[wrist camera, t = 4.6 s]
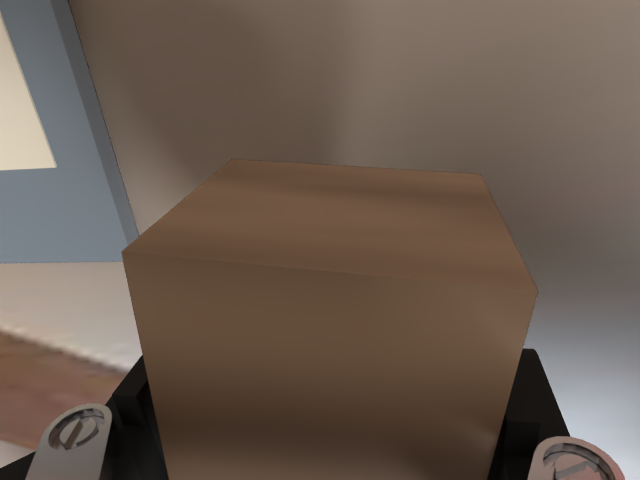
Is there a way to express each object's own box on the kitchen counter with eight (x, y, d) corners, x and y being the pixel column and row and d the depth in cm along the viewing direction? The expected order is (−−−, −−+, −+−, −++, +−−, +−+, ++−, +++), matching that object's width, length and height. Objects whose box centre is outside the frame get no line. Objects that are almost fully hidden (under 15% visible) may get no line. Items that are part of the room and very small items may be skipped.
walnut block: (432, 443, 14) (445, 631, 10) (252, 417, 15) (190, 580, 11) (480, 174, 10) (538, 291, 6) (231, 158, 11) (120, 251, 7)
